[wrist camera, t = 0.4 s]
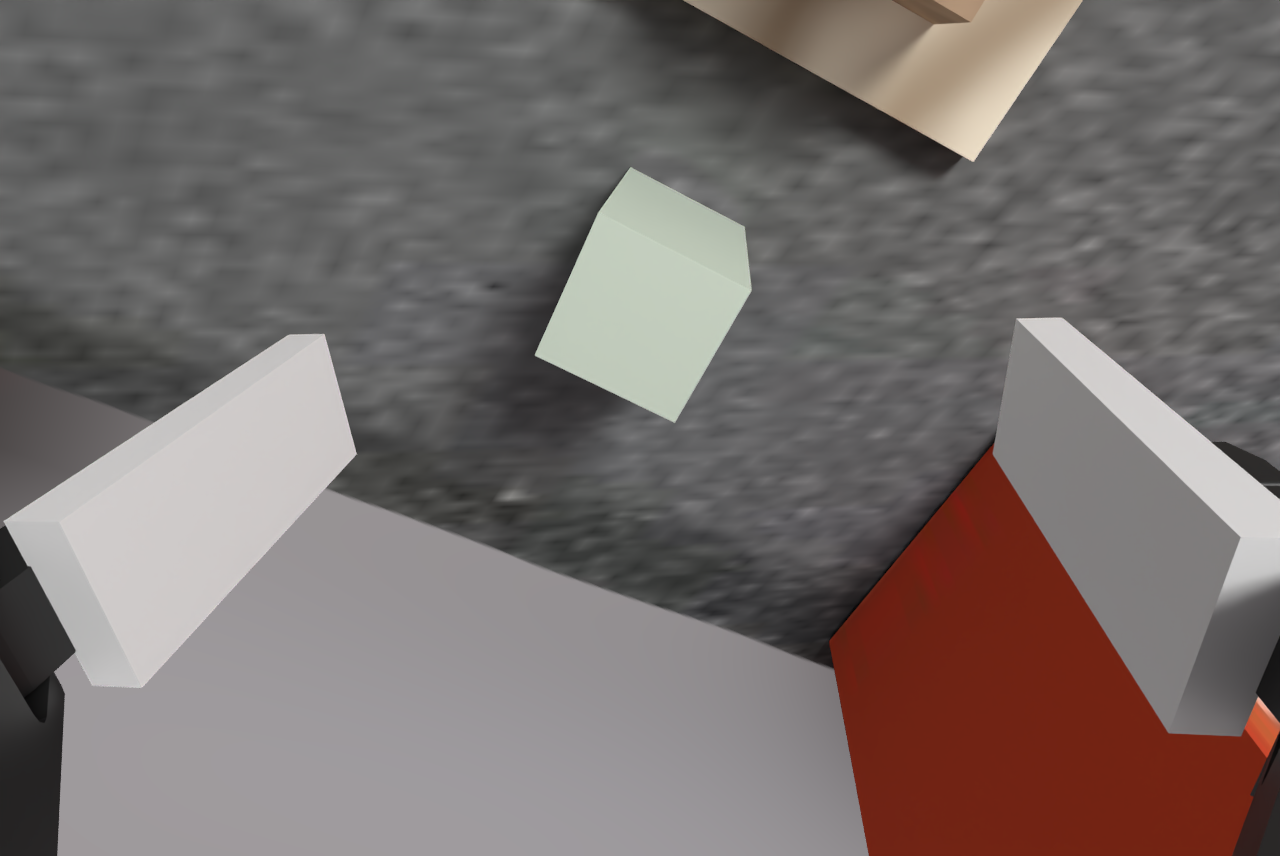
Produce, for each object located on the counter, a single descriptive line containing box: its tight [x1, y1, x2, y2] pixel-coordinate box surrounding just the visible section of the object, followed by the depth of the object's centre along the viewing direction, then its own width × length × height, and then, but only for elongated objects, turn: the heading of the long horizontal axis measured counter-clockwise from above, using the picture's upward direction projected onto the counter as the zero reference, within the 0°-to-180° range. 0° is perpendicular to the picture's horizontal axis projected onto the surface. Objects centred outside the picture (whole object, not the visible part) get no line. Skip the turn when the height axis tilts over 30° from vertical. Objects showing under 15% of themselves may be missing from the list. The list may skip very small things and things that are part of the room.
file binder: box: [829, 442, 1280, 856], centre depth 29 cm, size 8×17×32 cm, turn 155°
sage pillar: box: [535, 167, 752, 422], centre depth 32 cm, size 6×6×10 cm
